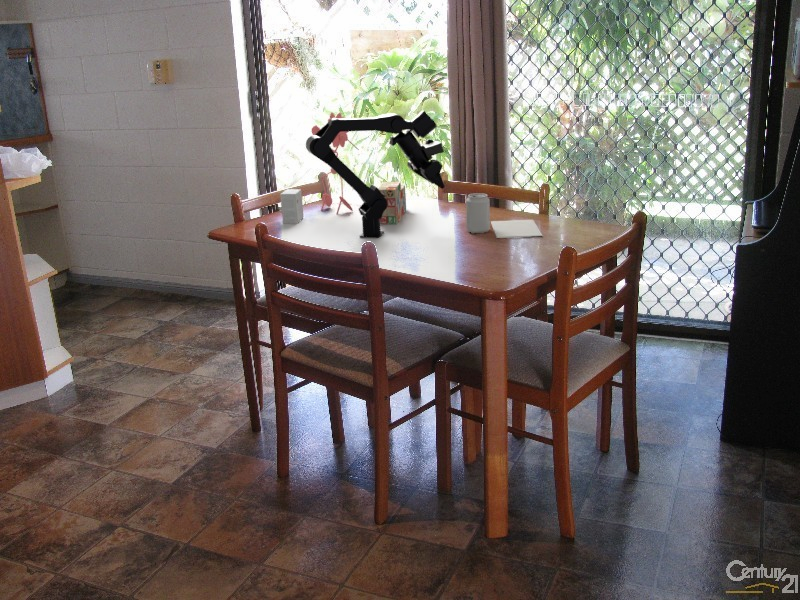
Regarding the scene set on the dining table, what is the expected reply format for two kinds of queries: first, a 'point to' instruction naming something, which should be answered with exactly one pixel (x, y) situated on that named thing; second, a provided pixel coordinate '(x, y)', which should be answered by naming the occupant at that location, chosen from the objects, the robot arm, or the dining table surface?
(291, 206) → the small box
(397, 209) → the stack of blocks
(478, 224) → the can
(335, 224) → the dining table surface
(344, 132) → the figurine
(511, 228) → the mat
